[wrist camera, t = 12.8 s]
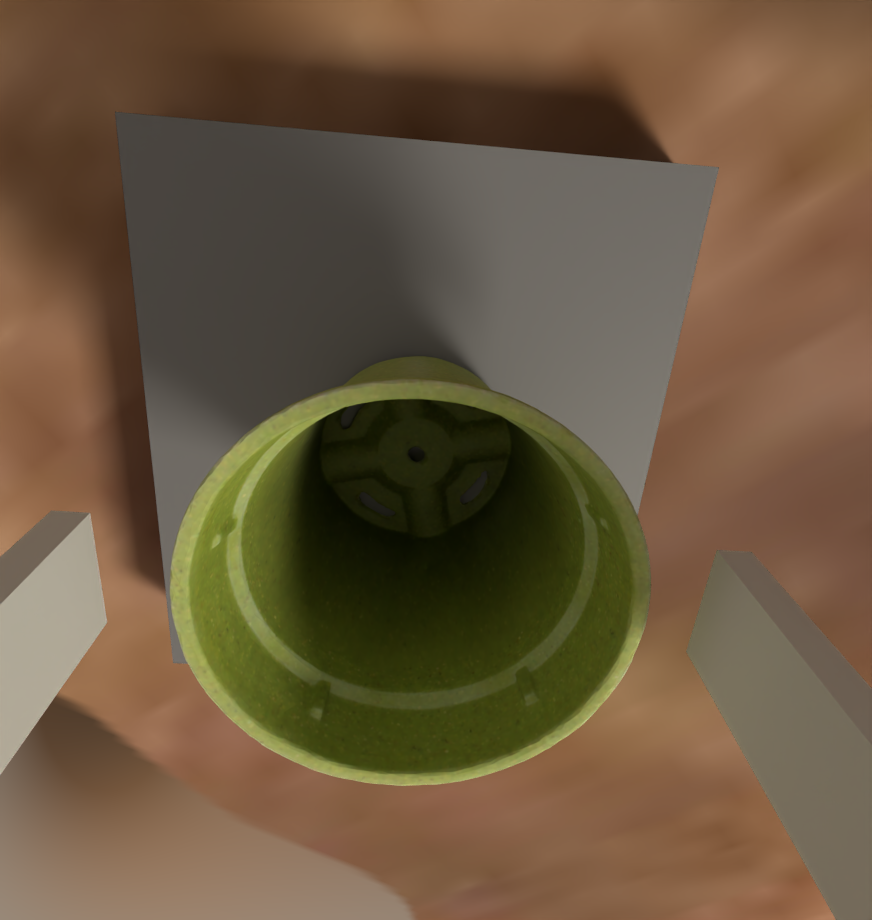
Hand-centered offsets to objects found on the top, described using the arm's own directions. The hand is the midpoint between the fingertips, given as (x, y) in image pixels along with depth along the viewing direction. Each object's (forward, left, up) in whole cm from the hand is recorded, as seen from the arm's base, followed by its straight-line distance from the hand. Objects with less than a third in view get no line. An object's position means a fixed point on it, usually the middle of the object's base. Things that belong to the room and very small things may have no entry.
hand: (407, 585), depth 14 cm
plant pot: (0, 0, -8) cm, 8 cm away
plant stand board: (0, 0, -10) cm, 10 cm away
